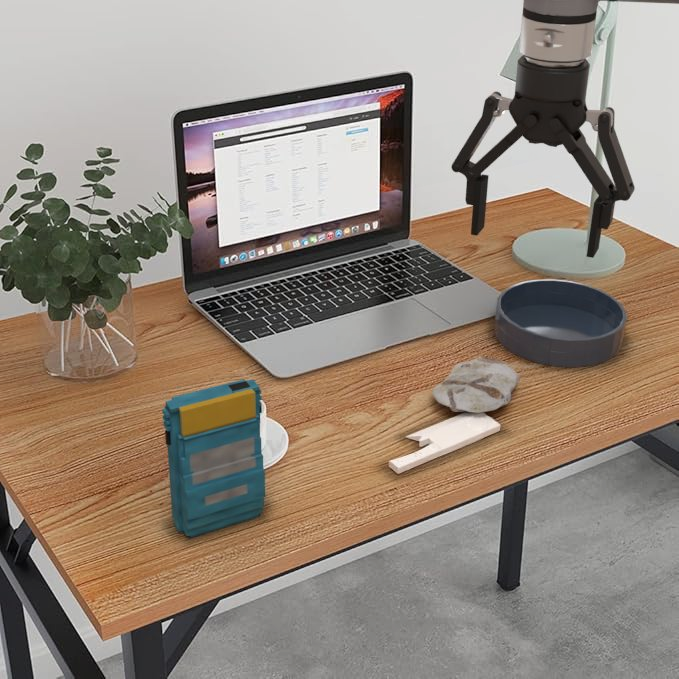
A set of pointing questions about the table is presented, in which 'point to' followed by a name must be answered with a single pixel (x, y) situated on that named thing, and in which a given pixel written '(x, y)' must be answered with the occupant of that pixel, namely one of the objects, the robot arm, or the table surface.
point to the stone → (477, 385)
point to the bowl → (559, 323)
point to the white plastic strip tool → (446, 438)
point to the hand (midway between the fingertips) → (533, 241)
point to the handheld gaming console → (215, 457)
